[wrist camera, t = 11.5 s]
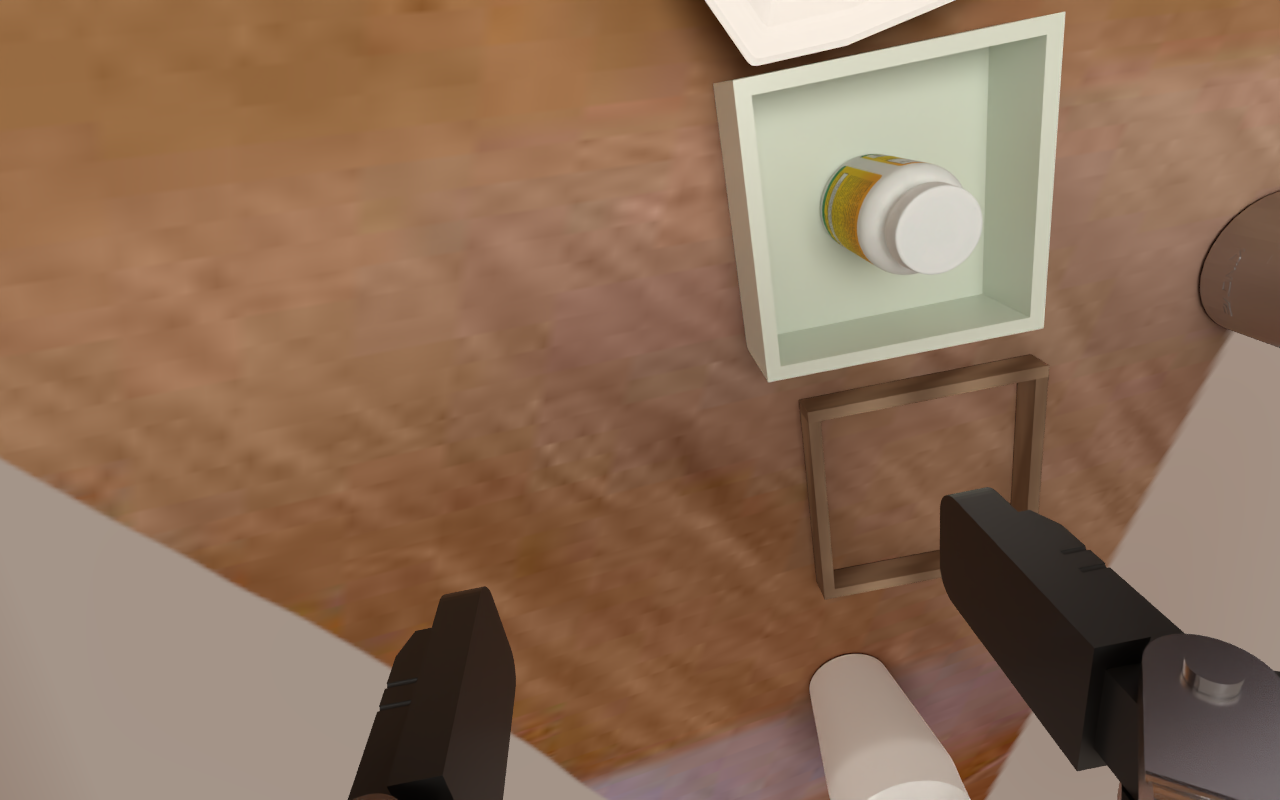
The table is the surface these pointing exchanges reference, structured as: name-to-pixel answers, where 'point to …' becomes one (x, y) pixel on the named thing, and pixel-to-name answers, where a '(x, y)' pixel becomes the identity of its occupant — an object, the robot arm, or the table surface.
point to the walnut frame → (912, 390)
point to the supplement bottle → (901, 214)
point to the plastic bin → (907, 128)
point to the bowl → (808, 24)
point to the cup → (876, 737)
